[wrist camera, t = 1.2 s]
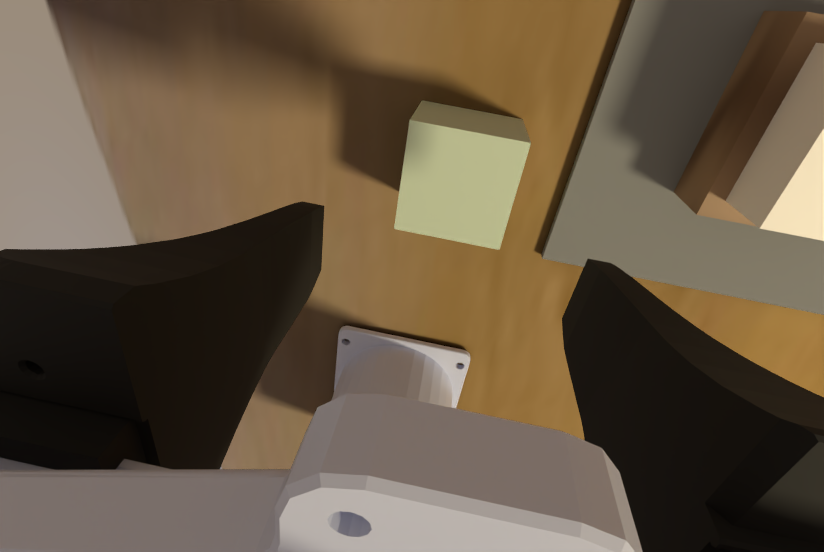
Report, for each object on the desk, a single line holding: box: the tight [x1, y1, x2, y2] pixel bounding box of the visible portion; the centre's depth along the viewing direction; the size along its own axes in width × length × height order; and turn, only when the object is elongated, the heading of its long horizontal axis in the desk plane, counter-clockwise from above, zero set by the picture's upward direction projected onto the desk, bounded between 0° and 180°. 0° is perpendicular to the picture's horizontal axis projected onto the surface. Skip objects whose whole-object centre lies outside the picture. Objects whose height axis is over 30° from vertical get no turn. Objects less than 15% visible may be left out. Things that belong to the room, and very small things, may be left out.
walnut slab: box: [674, 11, 824, 226], centre depth 17 cm, size 7×7×2 cm
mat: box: [541, 0, 824, 315], centre depth 18 cm, size 16×16×1 cm
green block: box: [394, 100, 531, 250], centre depth 19 cm, size 4×4×4 cm
